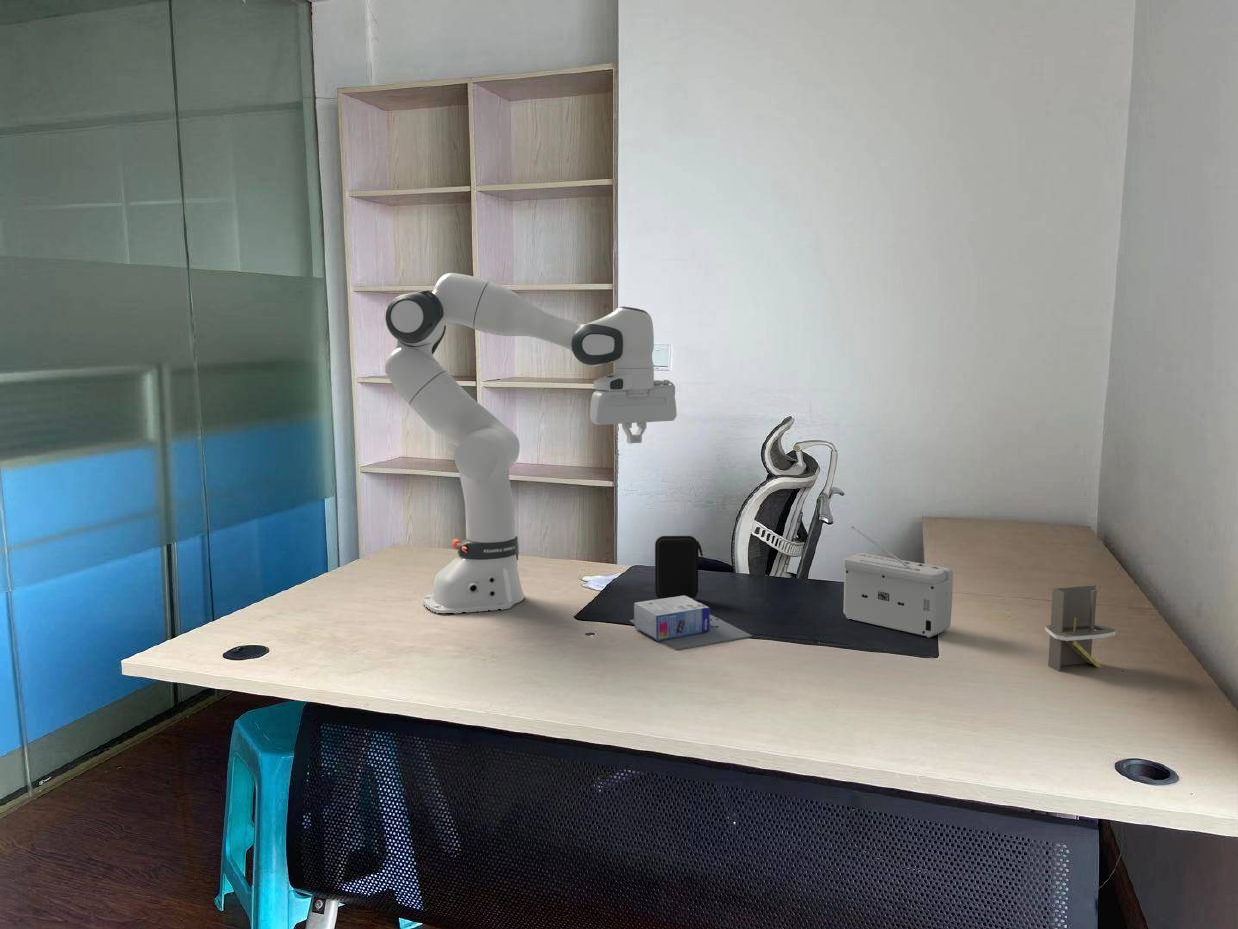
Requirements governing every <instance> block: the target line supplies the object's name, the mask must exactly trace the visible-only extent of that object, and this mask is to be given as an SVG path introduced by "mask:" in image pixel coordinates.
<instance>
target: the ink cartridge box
mask: <svg viewBox="0 0 1238 929" xmlns="http://www.w3.org/2000/svg"><path fill="white" fill-rule="evenodd" d="M710 611H711V609H710V607H709V606H707V605H705V604H703V603H702V602H698V601H697V600H695V599H694V598H693V599H692V598H690V597H687V596H678V597H671V598H664V599H659V598H658V599H650V600H644V601H636V602H634V603H633V616H634V617H633V619H634V624H633V625H634V628H635V629H636V630H638V631H639V632H642V633H644V634H645V635H646V636H648V637H650V638H652V639H653V640H655V641H661V640H665V639H670V638H676V637H681V636H687V635H692V634H697V633H703V632H709V631H710V621H712V620H711V619H710V615H711V614H710V613H711V612H710Z"/></svg>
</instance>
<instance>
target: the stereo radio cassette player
mask: <svg viewBox="0 0 1238 929" xmlns="http://www.w3.org/2000/svg"><path fill="white" fill-rule="evenodd" d="M851 529H852V530H853V529H854V530H855V531H857V532H858V533H859V534H860V535H862V536H863V537H864V538H866V539H867V540H868V541H869V542H872V544H874V545H875V546H876V547H878V548H879V549H881V550H882V551H883V552H885V553H886V554H888V555H889V556H890V557H886V556H879V555H875V554H873V555H872V554H869V553H862V552H859V553H857V554H852V555H850V556H847V557H844V558H843V567H844V575H843V576H844V579H843V582H844V583H843V584H844V585H843V608H842V609H843V611H842V612H843V614H844V615H845V618H846V619H848V620H849V619H852V620H853V621H856V622H857V621H858V622H862V623H865V624H866V623H867V624H871V625H875V626H880V627H884V628H888V629H892V630H897V631H900V632H901V631H903V632H906V633H909V634H910V633H911V634H916V635H920V636H924V637H927V638H928V639H929V638H932V637H934V636H937V635H939V634H940V633H941V634H942V633H943V632H945V631H946V630H947V629H949V628H950V627H951V623H952V622H951V620H952V609H953V587H954V586H953V585H954V571H953V569H951V568H950V567H943V566H938V565H931V564H927V563H920V562H915V561H909V560H902V559H900V558H898V557H897V556H896V555H895V554H893V553H891V551H889V550H887V548H885V547H883V546H881V545H880V544H879V543H877V541H874V540H873V539H871V538H870V537H868V535H866V534H864V533H862V531H860V530H858V529H857V528H855V526H854V525H852V526H851Z"/></svg>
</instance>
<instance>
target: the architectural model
mask: <svg viewBox="0 0 1238 929" xmlns="http://www.w3.org/2000/svg"><path fill="white" fill-rule="evenodd" d="M1096 588H1097V585H1095V584H1091V585H1090V584H1089V585H1081V586H1079V585H1078V586H1067V587H1055V588H1052V593H1051V594H1052V596H1051V597H1052V598H1051V610H1050V611H1051V613H1050V614H1051V615H1050V617H1051V618H1050V624H1049V625H1048V624H1047V625H1045V626H1044V631H1045V632H1046V633H1048V634H1049V643H1048V644H1049V649H1048V661H1047V663H1048V664H1047V666H1048V668H1051V669H1053V670H1055V671H1057V672H1061V667H1062V666H1068V665H1079V664H1091V665H1093V666H1095V667H1096V668H1102V667H1103V666H1102V665H1101V664H1100V663H1099V662H1098V661H1097V660H1096V659H1095V658H1094V657H1093V656H1092V652H1093V650H1092V649H1093V639H1103V638H1108V637H1110V638H1111V637H1113V636H1116V633H1117V630H1116V629H1115V628H1113V627H1111V626H1108V625H1105V624H1103V623H1100V622H1095V621H1096V610H1097V608H1096V607H1097V592H1098V590H1096Z"/></svg>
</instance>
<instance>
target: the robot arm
mask: <svg viewBox="0 0 1238 929" xmlns="http://www.w3.org/2000/svg"><path fill="white" fill-rule="evenodd" d="M385 324H386V328H387V329H388V331H389V333H390V334H391V336H392V337H394V338H395V339H396V340H397V341H396V346H395V349H394V350H393V351H392V352H391V353H389V355H388V356H387V358H386V360H385V364H384V371H385V374H386V376H387V378H388V380H389V381H390V383H391V384H392V386H393V387H394V388H395V390H396V391H397V392H398V393H399V395H400V396H401V397H402V399H404V401H405V402H406V403H407V404H408V405H409V406H410V407H411V408H412V409H413V410H414V411H415V413H416V414H417V415H418V416H419V417H420V418H421V419H422V420H423V421H424V422H425V423H426V424H427V425H428V426H429V427H430V429H431V430H433V431H434V432H435V433H437V434H438V435H440V436H442V437H444V438H445V439H447V440H448V441H449V442H450V443H452V444H453V445H454V446H456V450H455V453H454V462H455V467H456V469H457V470H458V473H459V480H460V484H461V489H462V490H461V491H462V493H463V494H462V495H463V500H464V501H463V502H464V510H465V512H464V513H465V514H464V515H465V538H464V539H462V541H461V540H459V539H457V538H454V539H453V540H452V541H451V543H450V544H451V547H452V548H453V549H455V550H457V554H458V556H456V557H455V558H453V560H451V562H449V563H448V564H447V565H446V566H445V567H443V568H442V569H441V570H440V571H438V572H437V574H436V575H435V578H434V579H433V580H434V581H433V586H432V593H430V594H427V595H425V596H424V597H423V599H422V604H423V603H424V605H425V606H424V605H423V606H424V607H425V608H426V607H427V608H428V609H430V610H431V611H430V610H429V611H430V612H432V611H433V612H432V613H434V612H436V613H435V614H438V613H454V614H463V613H462V612H466V613H476V612H477V611H478V612H487V611H488V610H490V611H499V610H498V609H501V610H508V609H511V608H512V607H513V606H514V605H515V604H518V603H520V602H522V601H523V600H524V599H525V594H524V591H523V587H522V584H521V578H520V572H519V567H518V566H519V564H518V560H519V554H520V553H519V551H520V549H519V546H520V545H519V540H518V539H519V538H518V536H517V534H516V532H517V531H516V530H517V529H516V528H517V526H516V501H515V499H514V496H513V492H512V491H513V490H512V485H511V482H510V468H512V467H513V466H514V465H515V463H516V462H517V460H518V458H519V455H520V450H521V449H520V448H521V447H520V446H521V445H520V444H521V443H520V440H519V438H518V435H516V433H515V432H514V431H513V430H512V429H510V428H509V427H507V426H506V425H505V424H504V423H503V422H502V421H500V419H498V418H497V417H496V416H495V415H493V414H492V412H490V411H489V410H487V409H486V408H485V407H484V406H482V405H481V404H480V403H479V402H478V401H476V400H475V398H473V397H472V396H471V395H470V394H469V393H468V392H467V391H466V390H465V389H464V388H463V387H462V386H461V385H460V384H459V382H457V380H455V378H453V377H452V375H451V374H450V373H449V372H448V371H447V370H446V369H445V368H444V367H443V366H442V365H441V364H440V363H439V362H438V361H437V359H436V358H435V356H434V354H435V352H436V351H437V348H438V347H439V345H440V343H441V342H442V340H443V338H444V336H445V334H446V330H447V325H450V324H456V325H457V324H458V325H462V326H465V327H468V328H471V329H473V330H476V331H479V332H482V333H485V334H489V335H490V334H491V335H494V336H501V337H530V338H536V339H539V340H543V341H546V342H547V343H551V344H554V345H557V346H560V347H563V348H566V349H569V350H570V351H571V352H572V353H573V355H574V357H575V358H576V359H577V360H578V361H579V362H580V363H581V364H582V365H583V364H584V365H585V366H588V367H602V366H606V365H608V364H610V363H612V364H613V367H614V369H613V370H614V371H613V373H610V374H607V375H604V376H602V377H600V378H596V379H595V380H594V381H593V388H594V389H595V391H594V392H593V393H592V396H591V399H590V407H589V410H590V411H589V414H590V415H589V416H590V420H591V422H592V424H595V425H599V426H601V425H603V426H604V425H618V424H620V425H621V428H622V430H623V432H624V434H625V435H626V443H627V444H641V443H642V442H643V438H642V437H643V435H644V433H645V431H646V430H647V423H654V422H655V423H657V422H673V421H675V419H676V418H677V416H678V415H677V412H678V411H677V403H676V402H677V401H676V396H675V395H676V386H675V384H674V383H673V382H671V381H670V380H669V379H663V380H659V379H655V365H654V361H653V354H654V353H653V352H654V347H655V340H654V339H655V337H654V325H653V324H654V323H653V319H652V316H651V314H649V313H648V312H647V311H646V310H644V309H640V308H636V307H631V306H618V307H617V308H616V309H615V310H614V311H612V312H610V313H609V314H607V315H605V316H603V317H601V318H598V319H596V320H593V321H589V322H585V323H584V322H577V321H573V320H570V319H568V318H564V317H562V316H558V315H555V314H553V313H550V312H547V311H544V310H542V309H541V308H539V307H537V306H536V305H534V304H532V302H530V301H528V300H526V299H525V298H524V297H522V296H521V295H519V294H517V293H515V292H514V291H512V290H511V289H509V288H507V287H505V286H502V285H501V284H498V283H495V282H493V281H490V280H487V279H484V278H482V277H481V278H480V277H477V276H473V275H468V274H463V273H455V272H448V273H445V274H443V275H442V276H441V277H440V278H439V279H438V280H437V282H436V283H435V285H434V287H433V290H432V291H430V290H428V289H425V290H424V289H423V290H420V291H415V292H409V293H405V294H400V295H398V296H396V297H395V298H394V299H393V300H391V302H389V305H388V306H387V308H386V311H385ZM632 424H636V427H637V430H636V433H635V434H633V433H632V431H631V429H632V428H633V427H632V426H633V425H632ZM427 608H426V609H427ZM428 609H427V610H428Z"/></svg>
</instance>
